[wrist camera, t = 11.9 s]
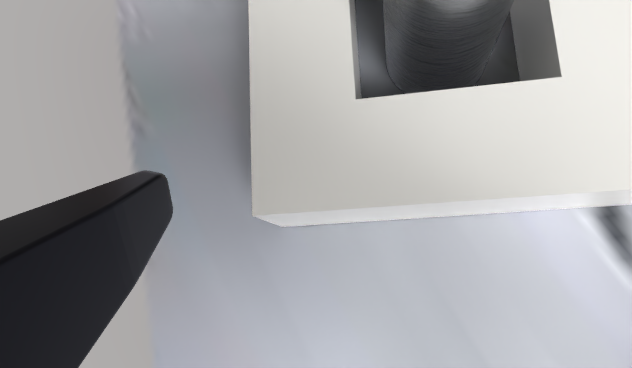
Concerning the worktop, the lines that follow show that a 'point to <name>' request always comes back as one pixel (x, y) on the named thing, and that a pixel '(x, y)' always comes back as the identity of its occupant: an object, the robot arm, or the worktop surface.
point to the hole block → (438, 121)
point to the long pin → (440, 41)
